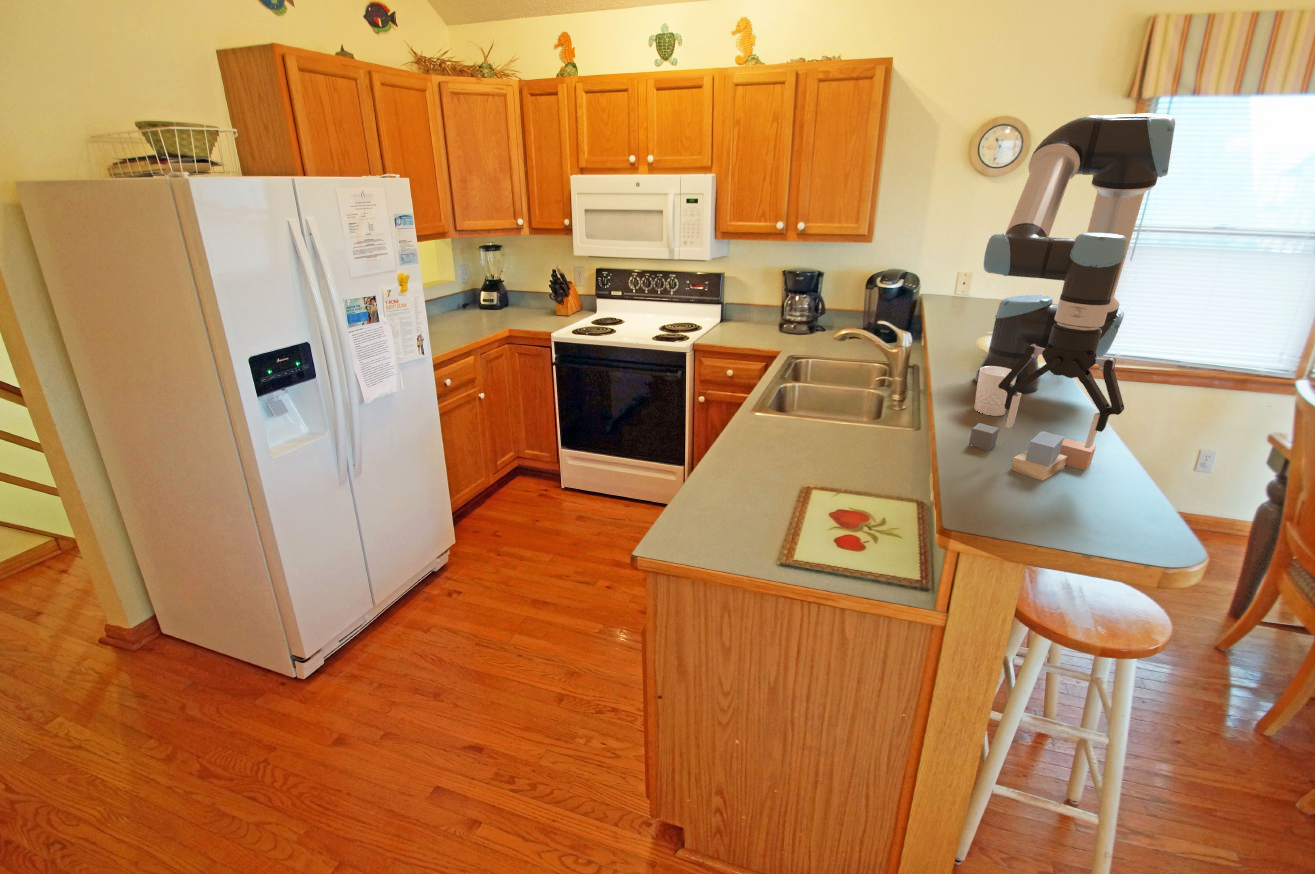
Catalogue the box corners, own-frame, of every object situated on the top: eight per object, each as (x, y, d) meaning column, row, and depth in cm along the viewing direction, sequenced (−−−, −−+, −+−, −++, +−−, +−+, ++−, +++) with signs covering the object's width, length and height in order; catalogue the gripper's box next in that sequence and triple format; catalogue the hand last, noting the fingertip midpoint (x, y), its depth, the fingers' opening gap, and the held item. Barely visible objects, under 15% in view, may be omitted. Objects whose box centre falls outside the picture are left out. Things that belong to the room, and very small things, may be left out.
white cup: (1012, 418, 149) (1022, 377, 145) (975, 415, 151) (984, 375, 147) (1002, 406, 156) (1011, 367, 152) (967, 404, 158) (976, 365, 154)
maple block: (1031, 459, 130) (1035, 446, 129) (1063, 470, 126) (1067, 456, 124) (1009, 471, 125) (1013, 457, 124) (1042, 482, 121) (1046, 468, 119)
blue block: (1036, 449, 127) (1041, 430, 126) (1058, 455, 125) (1064, 436, 123) (1025, 460, 123) (1030, 441, 121) (1048, 467, 120) (1054, 447, 118)
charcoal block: (975, 440, 138) (979, 422, 136) (995, 445, 135) (999, 428, 134) (968, 445, 135) (972, 428, 134) (988, 451, 133) (992, 433, 131)
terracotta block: (1045, 460, 129) (1050, 441, 128) (1051, 454, 132) (1056, 436, 130) (1085, 471, 125) (1091, 452, 123) (1090, 464, 127) (1096, 446, 126)
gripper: (996, 316, 119) (972, 422, 128) (1159, 342, 103) (1120, 461, 112) (1009, 310, 124) (986, 413, 132) (1167, 334, 108) (1129, 448, 117)
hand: (1047, 435), depth 122 cm, fingers open, 13 cm apart
